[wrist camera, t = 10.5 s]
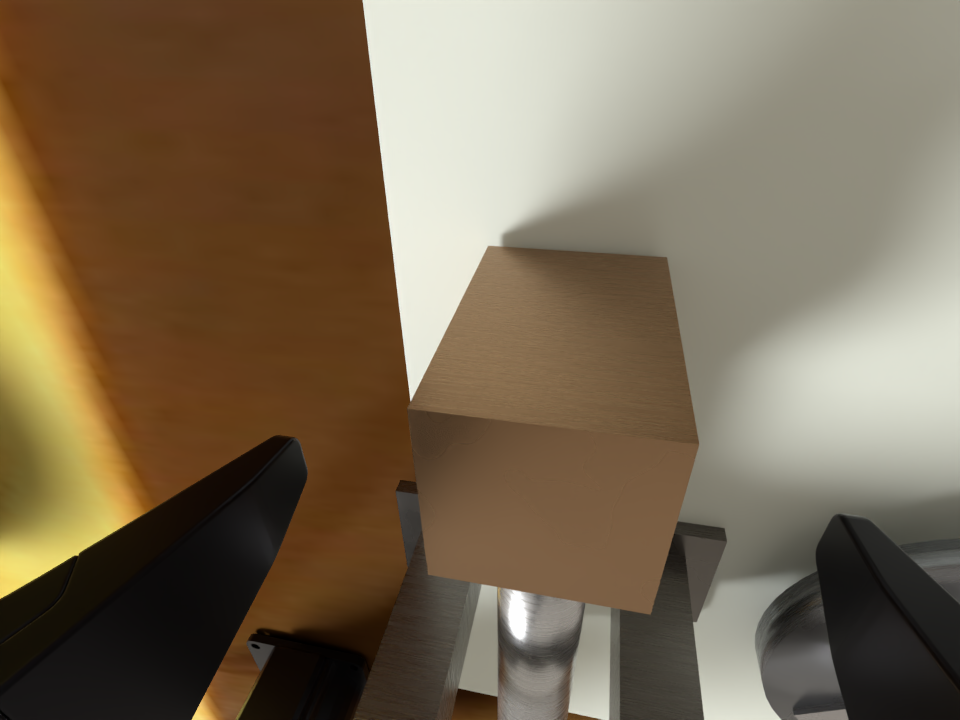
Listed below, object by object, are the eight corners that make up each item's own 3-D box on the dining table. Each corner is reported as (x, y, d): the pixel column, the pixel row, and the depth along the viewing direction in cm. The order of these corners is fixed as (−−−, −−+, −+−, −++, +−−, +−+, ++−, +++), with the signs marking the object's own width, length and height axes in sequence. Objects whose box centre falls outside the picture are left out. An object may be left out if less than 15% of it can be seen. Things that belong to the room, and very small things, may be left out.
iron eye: (695, 608, 19) (736, 952, 12) (412, 559, 21) (313, 833, 14) (724, 528, 17) (797, 903, 10) (400, 479, 18) (274, 767, 12)
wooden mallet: (595, 633, 21) (588, 831, 16) (492, 613, 21) (455, 797, 17) (666, 256, 12) (699, 444, 7) (488, 246, 13) (406, 408, 8)
